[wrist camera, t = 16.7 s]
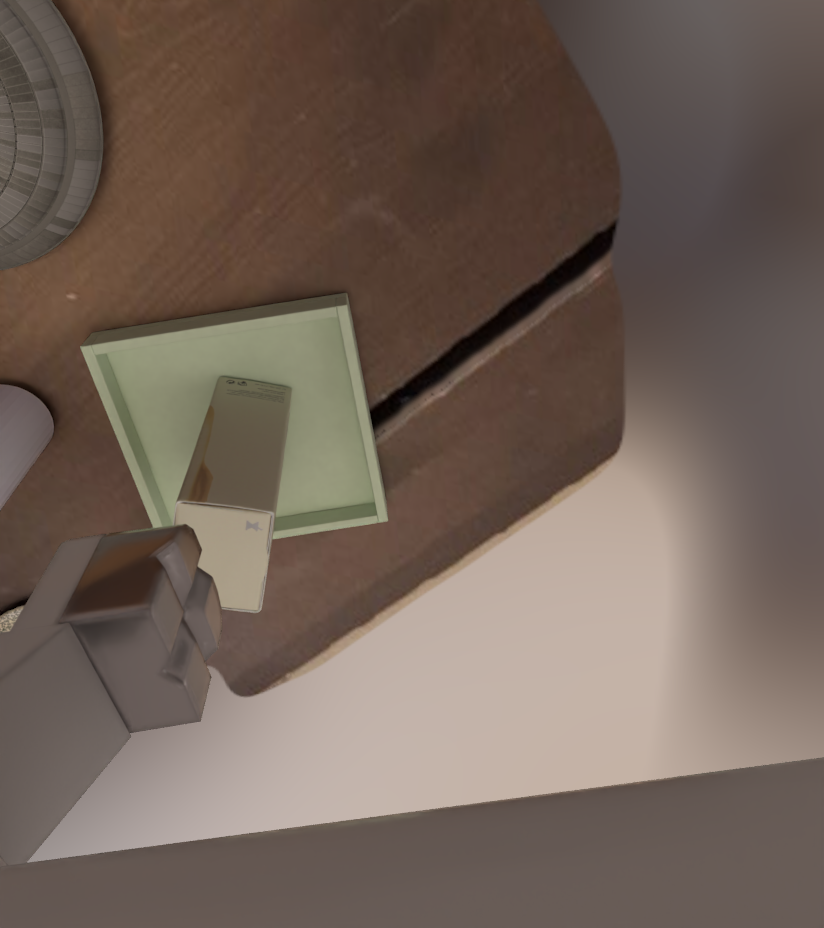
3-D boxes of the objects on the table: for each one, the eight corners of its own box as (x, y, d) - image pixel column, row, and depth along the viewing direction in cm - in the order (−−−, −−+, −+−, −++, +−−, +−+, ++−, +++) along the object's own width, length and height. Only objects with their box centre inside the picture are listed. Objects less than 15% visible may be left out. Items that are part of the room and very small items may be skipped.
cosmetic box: (217, 373, 41) (172, 493, 30) (294, 385, 41) (276, 506, 31) (209, 469, 44) (166, 607, 33) (280, 479, 45) (261, 617, 34)
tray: (347, 291, 39) (347, 304, 38) (386, 502, 47) (388, 521, 45) (91, 332, 39) (79, 346, 38) (171, 536, 47) (164, 556, 45)
